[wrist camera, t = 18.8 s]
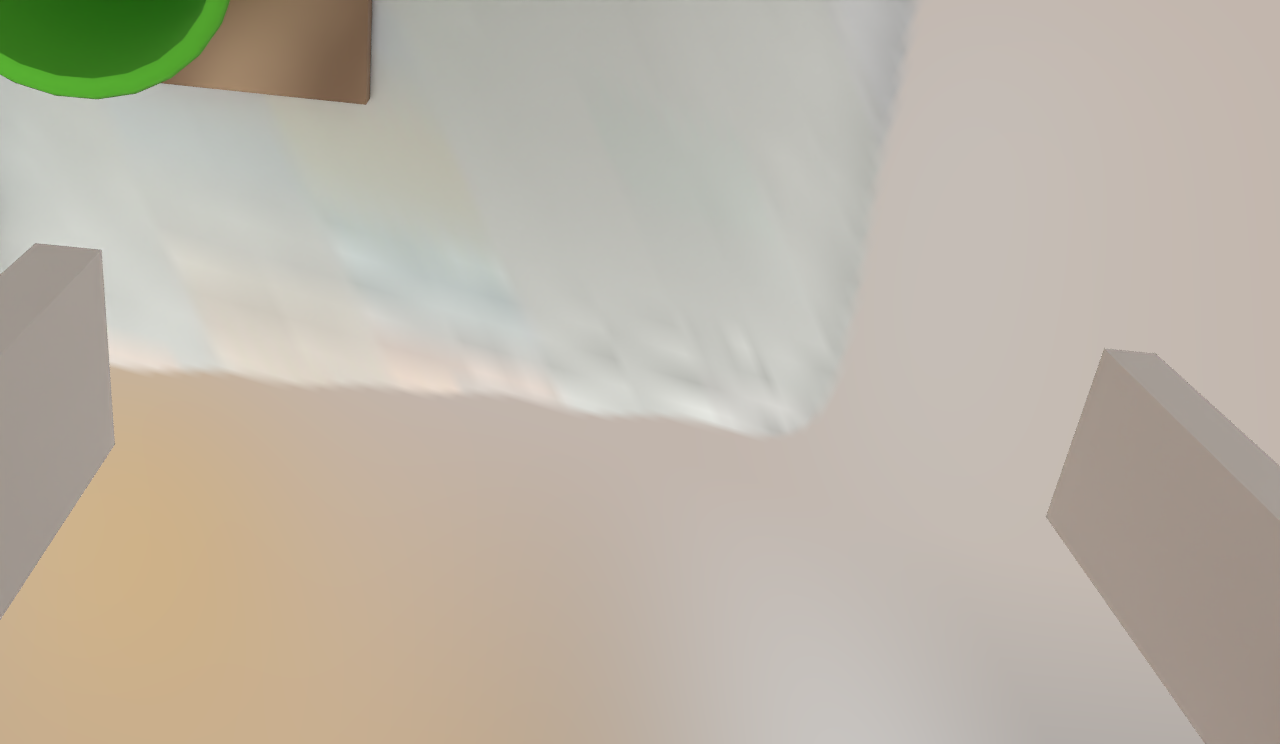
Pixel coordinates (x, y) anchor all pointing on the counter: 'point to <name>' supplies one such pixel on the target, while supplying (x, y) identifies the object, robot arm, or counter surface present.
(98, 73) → the cup
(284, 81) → the board
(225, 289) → the counter surface
